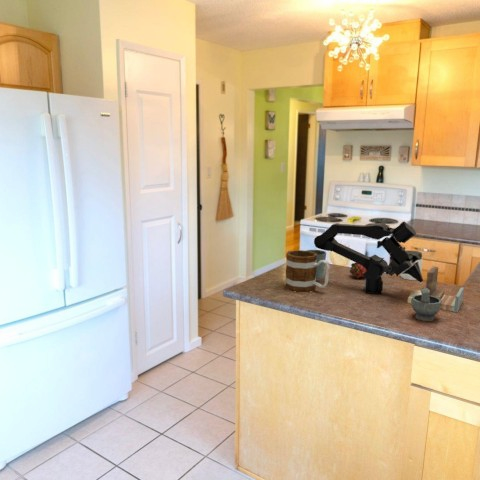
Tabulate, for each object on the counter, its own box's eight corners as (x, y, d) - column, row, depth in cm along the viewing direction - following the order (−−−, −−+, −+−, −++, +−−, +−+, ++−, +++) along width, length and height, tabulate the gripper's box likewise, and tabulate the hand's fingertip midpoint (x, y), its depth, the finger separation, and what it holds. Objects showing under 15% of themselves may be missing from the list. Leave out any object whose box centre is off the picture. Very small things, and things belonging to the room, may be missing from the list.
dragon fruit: (353, 283, 196) (361, 281, 206) (369, 275, 192) (377, 272, 202) (344, 267, 198) (352, 265, 208) (360, 258, 194) (367, 256, 204)
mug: (278, 288, 183) (279, 254, 180) (295, 281, 193) (296, 248, 190) (320, 298, 171) (321, 261, 168) (335, 290, 181) (337, 255, 178)
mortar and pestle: (413, 311, 158) (415, 279, 155) (441, 315, 153) (444, 283, 151) (407, 321, 148) (410, 287, 146) (437, 326, 144) (440, 292, 141)
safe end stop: (454, 311, 157) (455, 296, 156) (459, 302, 167) (461, 287, 166) (457, 312, 156) (458, 296, 155) (462, 302, 167) (464, 287, 166)
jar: (412, 281, 194) (414, 255, 192) (396, 277, 201) (398, 251, 198) (424, 278, 199) (426, 252, 197) (408, 274, 206) (410, 249, 203)
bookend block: (424, 300, 164) (427, 272, 161) (430, 293, 172) (432, 266, 169) (439, 302, 161) (441, 274, 159) (443, 295, 169) (446, 268, 167)
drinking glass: (328, 276, 202) (329, 251, 199) (320, 281, 193) (321, 255, 191) (308, 272, 207) (309, 248, 205) (299, 278, 199) (300, 252, 196)
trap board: (407, 302, 166) (407, 297, 166) (414, 294, 176) (415, 289, 176) (454, 311, 157) (454, 306, 157) (459, 302, 167) (459, 297, 167)
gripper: (386, 257, 184) (411, 286, 180) (372, 266, 168) (399, 299, 165) (407, 241, 178) (433, 271, 174) (395, 249, 163) (423, 283, 159)
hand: (421, 281), depth 168 cm, fingers closed
